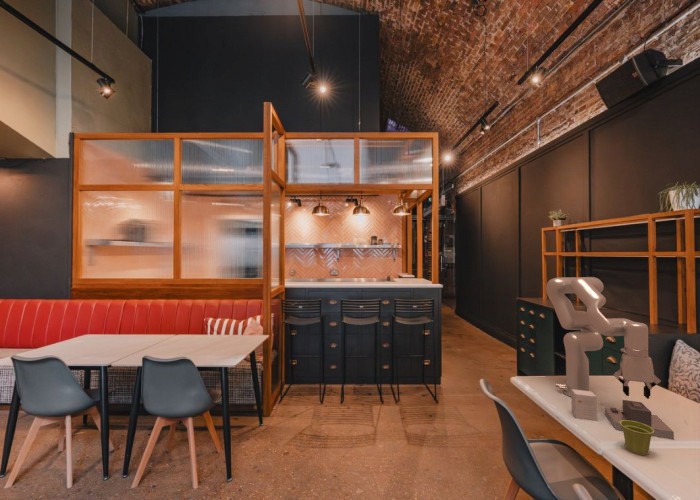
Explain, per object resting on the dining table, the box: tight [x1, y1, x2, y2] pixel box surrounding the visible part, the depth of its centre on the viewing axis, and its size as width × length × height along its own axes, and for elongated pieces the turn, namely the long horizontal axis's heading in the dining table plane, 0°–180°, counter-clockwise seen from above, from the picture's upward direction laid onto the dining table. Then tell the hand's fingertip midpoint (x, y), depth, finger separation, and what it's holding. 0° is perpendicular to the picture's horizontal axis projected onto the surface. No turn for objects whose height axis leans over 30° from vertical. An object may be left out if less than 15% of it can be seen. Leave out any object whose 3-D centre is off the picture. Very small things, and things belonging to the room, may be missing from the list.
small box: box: [571, 389, 598, 421], centre depth 143 cm, size 8×6×10 cm
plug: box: [622, 399, 652, 426], centre depth 135 cm, size 6×9×9 cm
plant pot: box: [620, 420, 654, 456], centre depth 119 cm, size 9×9×9 cm
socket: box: [603, 406, 675, 440], centre depth 135 cm, size 18×14×4 cm
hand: (636, 395), depth 136 cm, fingers open, 5 cm apart
